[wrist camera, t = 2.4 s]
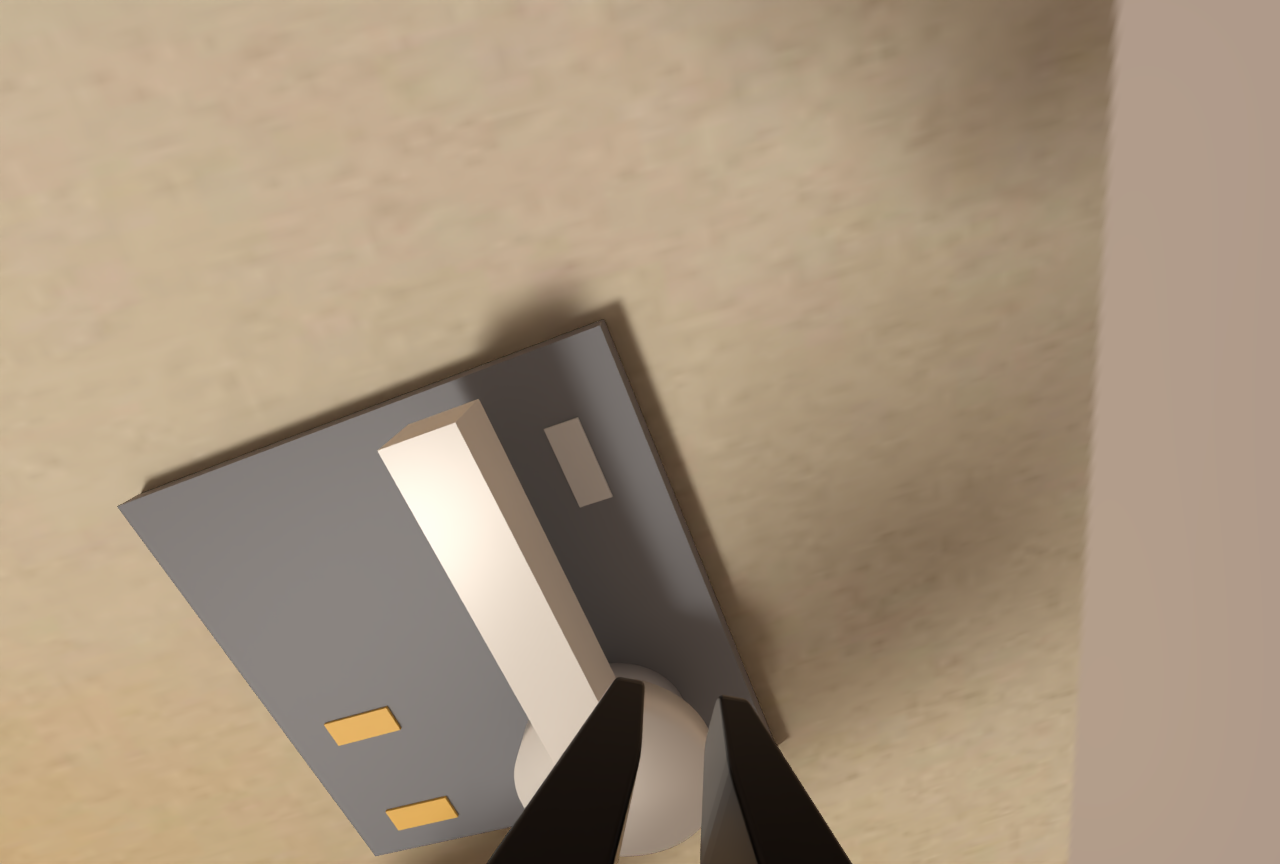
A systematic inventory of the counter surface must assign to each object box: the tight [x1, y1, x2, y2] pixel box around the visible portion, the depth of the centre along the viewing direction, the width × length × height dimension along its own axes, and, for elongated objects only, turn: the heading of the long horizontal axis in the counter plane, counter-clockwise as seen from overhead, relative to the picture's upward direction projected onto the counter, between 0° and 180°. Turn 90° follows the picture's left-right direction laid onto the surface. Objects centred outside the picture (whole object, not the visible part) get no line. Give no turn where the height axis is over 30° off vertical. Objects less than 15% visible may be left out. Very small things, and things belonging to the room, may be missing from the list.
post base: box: [117, 319, 773, 856], centre depth 24 cm, size 19×19×2 cm
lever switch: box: [377, 399, 708, 856], centre depth 20 cm, size 18×7×2 cm, turn 21°
